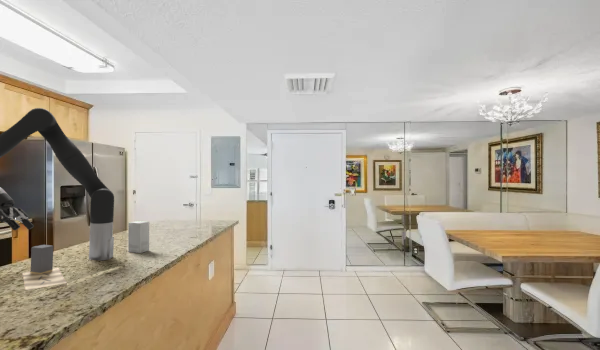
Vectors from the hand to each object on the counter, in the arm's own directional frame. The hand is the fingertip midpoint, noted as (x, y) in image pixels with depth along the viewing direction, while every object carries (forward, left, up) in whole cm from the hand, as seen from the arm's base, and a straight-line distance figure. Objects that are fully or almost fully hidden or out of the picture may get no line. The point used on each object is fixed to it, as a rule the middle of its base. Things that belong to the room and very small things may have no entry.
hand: (24, 228), depth 122 cm
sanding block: (-8, +6, -16) cm, 19 cm away
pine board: (-13, +14, -18) cm, 25 cm away
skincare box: (-37, -28, -18) cm, 50 cm away
